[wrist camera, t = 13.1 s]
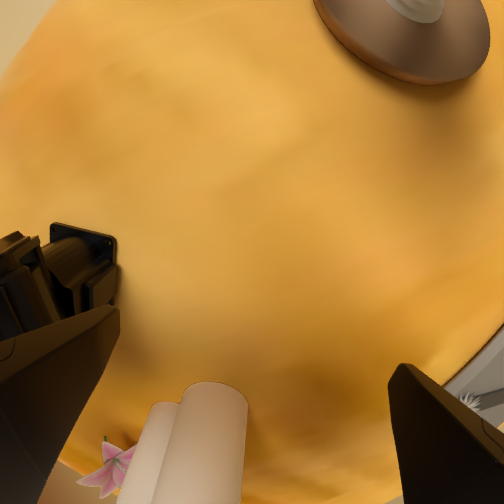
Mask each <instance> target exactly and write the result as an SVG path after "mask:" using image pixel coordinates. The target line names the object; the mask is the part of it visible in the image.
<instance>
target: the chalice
mask: <svg viewBox="0 0 504 504" xmlns="http://www.w3.org/2000/svg"><path fill="white" fill-rule="evenodd" d="M386 1H387V2H388V3H389V4H390V5H391V6H392V7H393V8H394V9H395V10H396V11H398V12H399V13H400V14H402V15H403V16H405V17H407V18H409V19H411V20H413V21H416V22H420V23H433V22H435V21H436V20H438V19H439V17H440V16H441V14H442V9H443V7H444V2H445V0H386Z"/></svg>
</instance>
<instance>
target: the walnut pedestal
mask: <svg viewBox="0 0 504 504" xmlns="http://www.w3.org/2000/svg"><path fill="white" fill-rule="evenodd" d="M313 1H314V4H315V7H316V9H317V11H318V13H319V15H320V17H321V19H322V20H323V22H324V23H325V24H326V26H327V27H328V29H329V30H330V31H331V32H332V34H333V35H334V36H335V37H336V38H337V40H338V41H340V42H341V43H342V44H343V45H344V46H345V47H346V48H347V49H348V50H349V51H350V52H351V53H353V54H354V55H355V56H356V57H357V58H359V59H360V60H362V61H363V62H365V63H366V64H367V65H369V66H371V67H372V68H374V69H376V70H378V71H379V72H381V73H384V74H386V75H388V76H390V77H392V78H395V79H398V80H401V81H404V82H408V83H412V84H418V85H437V84H443V83H447V82H450V81H454V80H458V79H462V78H465V77H468V76H470V75H471V74H473V73H475V72H476V71H477V70H478V69H479V68H480V67H481V66H482V64H483V63H484V62H485V60H486V57H487V55H488V52H489V47H490V28H489V23H488V18H487V15H486V12H485V9H484V7H483V5H482V3H481V0H445V2H444V7H443V9H442V14H441V16H440V17H439V19H438V20H436V21H435V22H433V23H420V22H416V21H413V20H411V19H409V18H407V17H405V16H403V15H402V14H400V13H399V12H398V11H396V10H395V9H394V8H393V7H392V6H391V5H390V4H389V3H388V2H387V1H386V0H313Z"/></svg>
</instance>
